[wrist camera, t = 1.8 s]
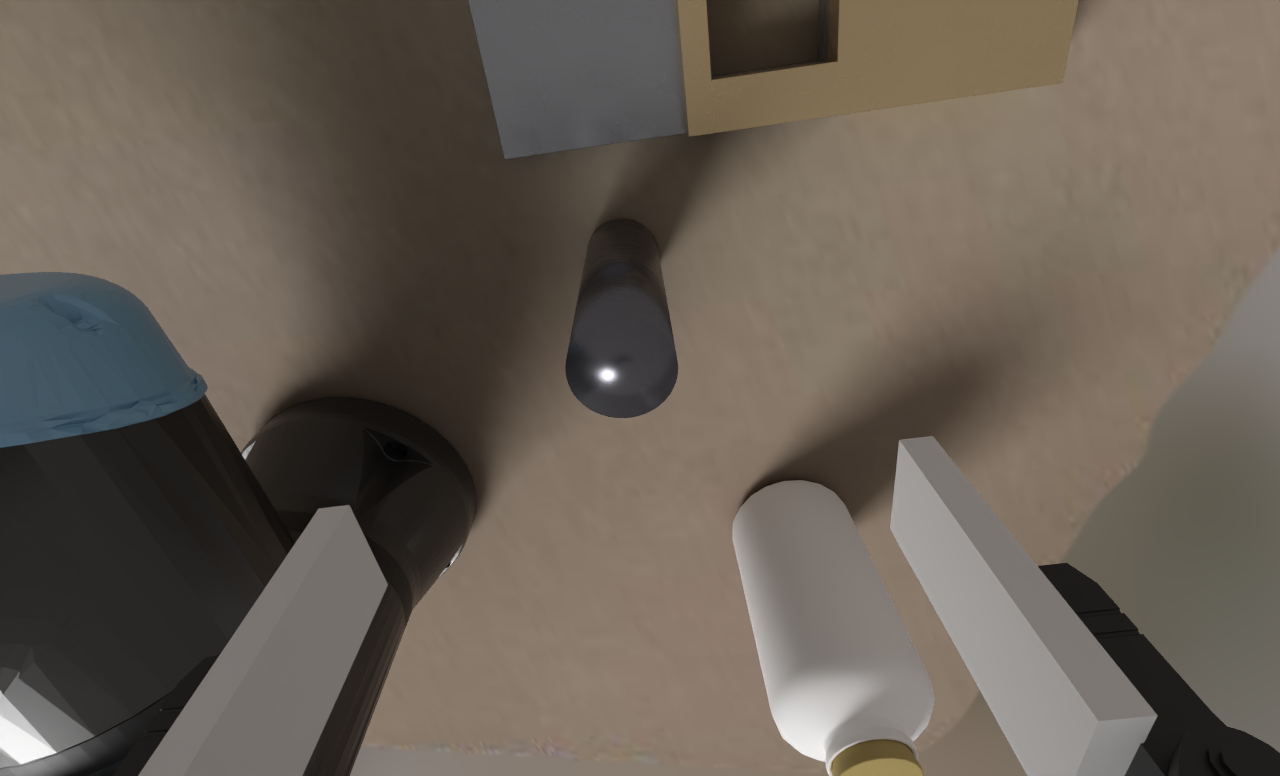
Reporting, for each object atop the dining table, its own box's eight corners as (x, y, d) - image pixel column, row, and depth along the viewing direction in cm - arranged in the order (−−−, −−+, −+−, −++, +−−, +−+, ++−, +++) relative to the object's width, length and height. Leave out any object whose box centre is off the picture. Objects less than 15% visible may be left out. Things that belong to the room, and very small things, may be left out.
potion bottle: (709, 541, 44) (757, 809, 28) (765, 457, 40) (855, 712, 25) (805, 572, 46) (898, 840, 30) (867, 494, 42) (1010, 754, 27)
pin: (593, 292, 34) (576, 424, 22) (581, 224, 32) (555, 326, 20) (662, 283, 34) (683, 410, 22) (653, 214, 32) (671, 311, 20)
